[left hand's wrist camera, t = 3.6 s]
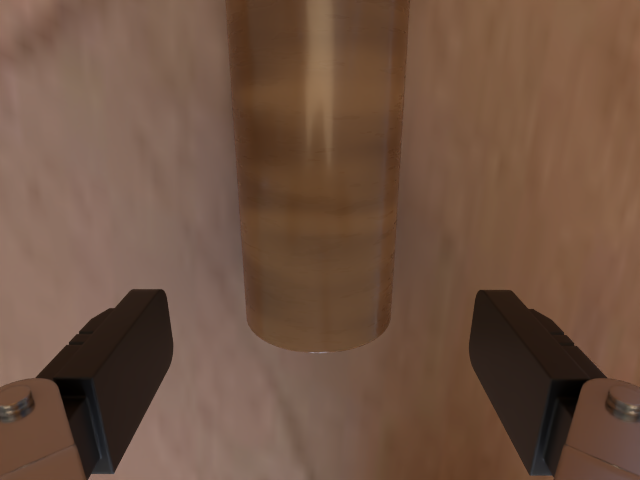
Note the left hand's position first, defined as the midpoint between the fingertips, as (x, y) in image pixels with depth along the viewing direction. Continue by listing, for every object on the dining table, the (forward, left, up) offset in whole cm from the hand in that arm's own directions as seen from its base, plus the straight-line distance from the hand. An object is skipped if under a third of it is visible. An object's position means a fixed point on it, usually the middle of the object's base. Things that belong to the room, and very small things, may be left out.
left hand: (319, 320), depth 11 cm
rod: (+5, +9, -10) cm, 14 cm away
